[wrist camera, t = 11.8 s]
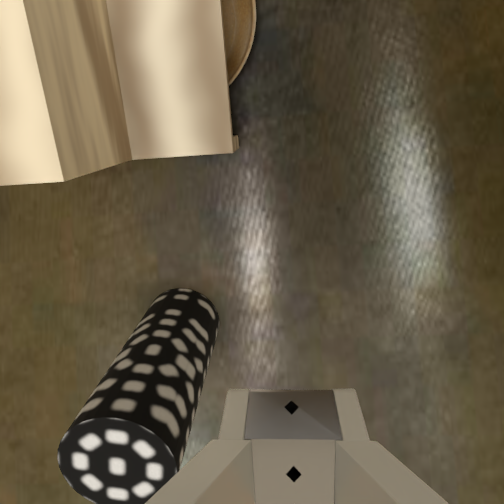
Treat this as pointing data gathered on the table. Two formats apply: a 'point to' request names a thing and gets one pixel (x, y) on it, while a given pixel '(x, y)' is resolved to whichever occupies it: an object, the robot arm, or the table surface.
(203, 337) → the white-spotted black cylinder
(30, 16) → the wooden step block
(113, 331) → the table surface
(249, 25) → the plant saucer
